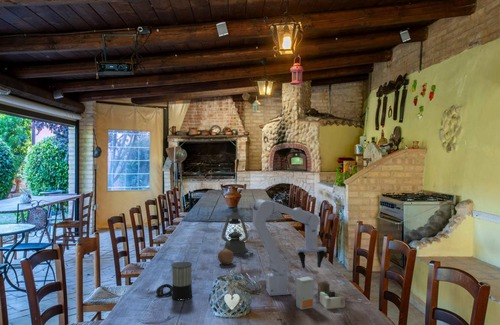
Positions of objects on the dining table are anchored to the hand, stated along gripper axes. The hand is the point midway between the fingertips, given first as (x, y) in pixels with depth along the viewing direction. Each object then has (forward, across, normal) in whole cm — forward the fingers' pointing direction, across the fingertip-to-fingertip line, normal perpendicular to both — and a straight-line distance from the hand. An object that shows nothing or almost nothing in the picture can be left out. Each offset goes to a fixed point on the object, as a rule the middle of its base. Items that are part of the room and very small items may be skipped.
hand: (311, 267), depth 182 cm
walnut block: (+10, +2, -11) cm, 15 cm away
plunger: (+9, +2, -18) cm, 20 cm away
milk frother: (+10, -64, +2) cm, 65 cm away
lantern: (+10, -27, +80) cm, 85 cm away
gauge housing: (+10, +2, -21) cm, 23 cm away
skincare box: (+10, -10, -22) cm, 26 cm away
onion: (+10, -36, +48) cm, 61 cm away
